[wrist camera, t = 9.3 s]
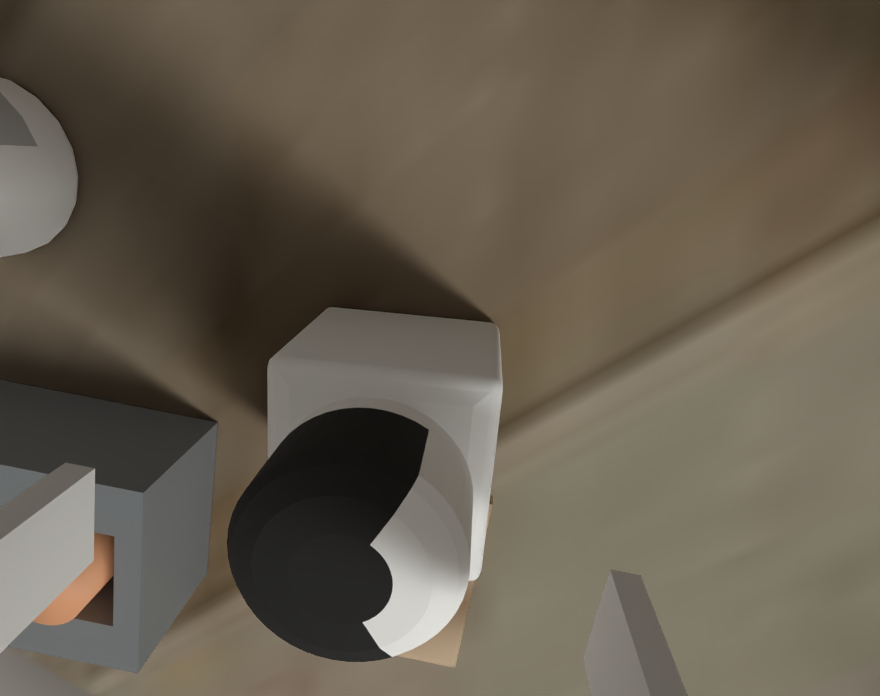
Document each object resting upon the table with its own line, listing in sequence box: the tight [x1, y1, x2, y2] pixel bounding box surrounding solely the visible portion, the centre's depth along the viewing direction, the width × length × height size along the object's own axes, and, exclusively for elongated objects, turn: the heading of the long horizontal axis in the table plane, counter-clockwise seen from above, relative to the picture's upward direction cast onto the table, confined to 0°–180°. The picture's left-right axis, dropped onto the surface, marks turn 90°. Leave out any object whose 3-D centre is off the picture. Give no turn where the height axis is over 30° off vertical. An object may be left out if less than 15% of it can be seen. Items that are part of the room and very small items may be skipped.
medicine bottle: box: [227, 307, 503, 662], centre depth 20 cm, size 7×7×12 cm
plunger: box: [33, 532, 114, 625], centre depth 24 cm, size 3×3×6 cm
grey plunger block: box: [0, 380, 218, 673], centre depth 25 cm, size 8×13×6 cm, turn 80°
